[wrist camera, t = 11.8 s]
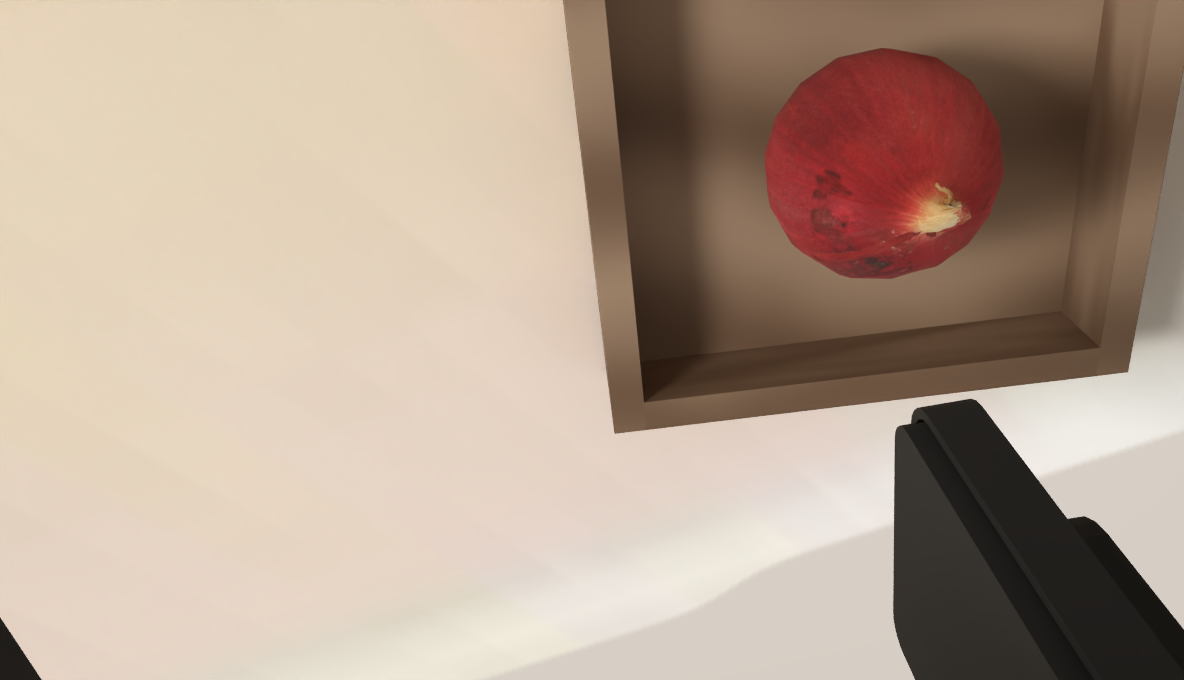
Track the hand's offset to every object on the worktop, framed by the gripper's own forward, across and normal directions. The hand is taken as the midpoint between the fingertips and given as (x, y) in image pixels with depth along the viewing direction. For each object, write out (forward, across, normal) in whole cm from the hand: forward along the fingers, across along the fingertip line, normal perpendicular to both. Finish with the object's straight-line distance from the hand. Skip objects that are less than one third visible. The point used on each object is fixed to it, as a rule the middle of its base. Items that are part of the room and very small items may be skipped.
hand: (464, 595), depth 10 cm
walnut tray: (+20, -10, +3) cm, 23 cm away
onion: (+20, -10, +3) cm, 22 cm away
